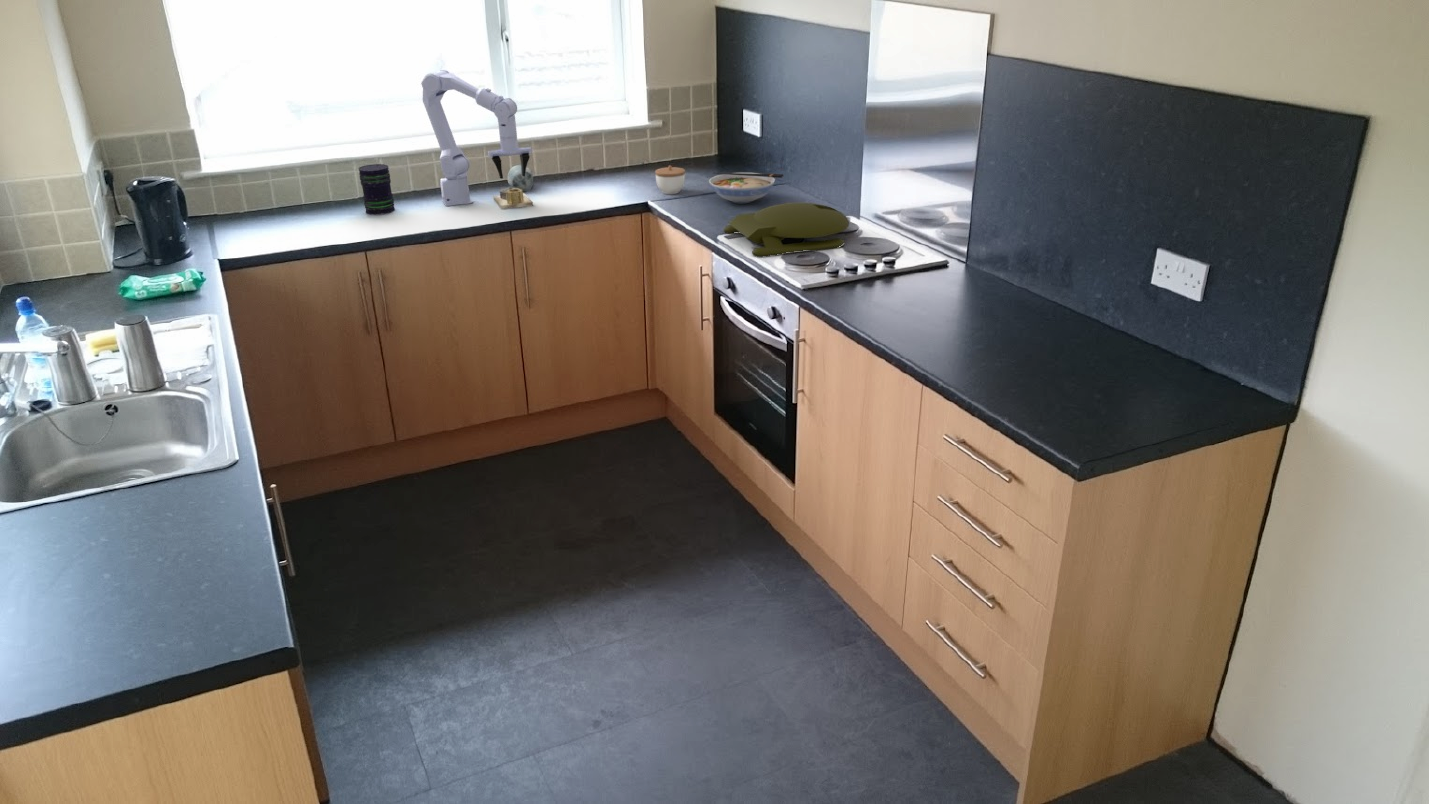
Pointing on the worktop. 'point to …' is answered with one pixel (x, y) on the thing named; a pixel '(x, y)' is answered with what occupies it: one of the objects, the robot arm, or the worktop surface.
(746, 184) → the ramen bowl
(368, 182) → the black green cylinder
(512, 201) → the brass gear
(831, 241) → the green sea turtle
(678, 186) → the lidded jar
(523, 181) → the spool
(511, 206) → the gear board
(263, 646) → the worktop surface
